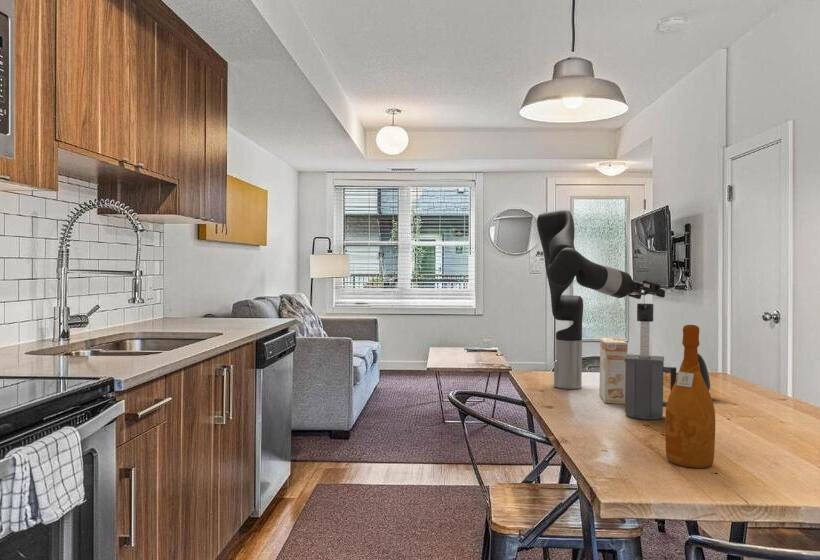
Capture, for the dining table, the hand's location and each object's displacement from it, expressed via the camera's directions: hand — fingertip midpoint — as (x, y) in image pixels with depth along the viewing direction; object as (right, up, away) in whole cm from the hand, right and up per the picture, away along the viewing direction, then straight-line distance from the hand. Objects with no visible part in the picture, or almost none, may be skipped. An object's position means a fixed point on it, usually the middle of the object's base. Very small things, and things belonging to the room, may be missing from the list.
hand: (651, 294), depth 174 cm
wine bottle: (-9, -36, -43) cm, 57 cm away
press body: (-1, -35, -1) cm, 35 cm away
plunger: (-2, -25, 0) cm, 26 cm away
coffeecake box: (-3, -35, +24) cm, 42 cm away
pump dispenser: (+25, -35, +27) cm, 51 cm away
